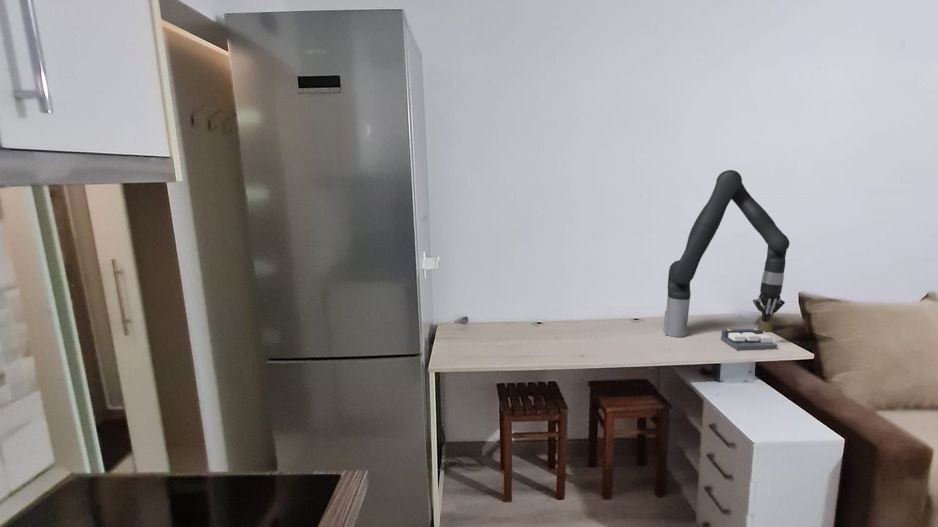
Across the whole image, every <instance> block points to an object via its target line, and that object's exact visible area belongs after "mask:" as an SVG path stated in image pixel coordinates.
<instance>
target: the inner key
mask: <svg viewBox="0 0 938 527" xmlns="http://www.w3.org/2000/svg"><path fill="white" fill-rule="evenodd" d="M728 337H729V338H730V339H732V340H733V341H745V338H746V336H744V335H742V334H741V333H729V334H728Z"/></svg>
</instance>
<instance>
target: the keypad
mask: <svg viewBox="0 0 938 527" xmlns="http://www.w3.org/2000/svg"><path fill="white" fill-rule="evenodd" d="M746 332H753V333H755V334H764V332H763V330H762V329H760V328H758V327H755V328H723V329H722V330H721V336H720V341H722V342H723V343H724V344H727V346H730V347H731V348H732V349H733V350H736V351H767V350H766V349H776V350H777V347H778V344H776V343H774V342H773V341H772V342H765V343H762V342H760V341H748V340H746V339H745V341H733V340H732V339H730V338H729V337H728V334H729V333H741V334H742V333H746Z"/></svg>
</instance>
